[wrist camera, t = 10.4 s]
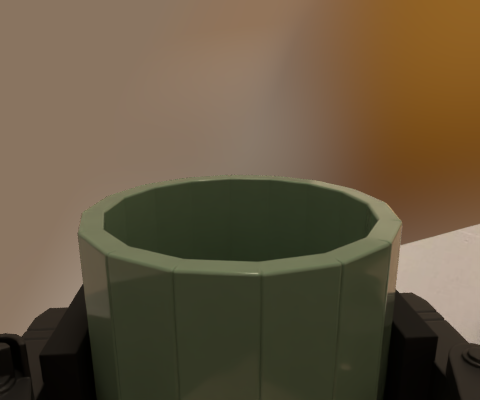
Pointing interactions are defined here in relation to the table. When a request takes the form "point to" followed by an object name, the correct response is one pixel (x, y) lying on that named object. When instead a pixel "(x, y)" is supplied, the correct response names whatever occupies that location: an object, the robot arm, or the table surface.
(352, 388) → the cup
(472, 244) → the table surface
